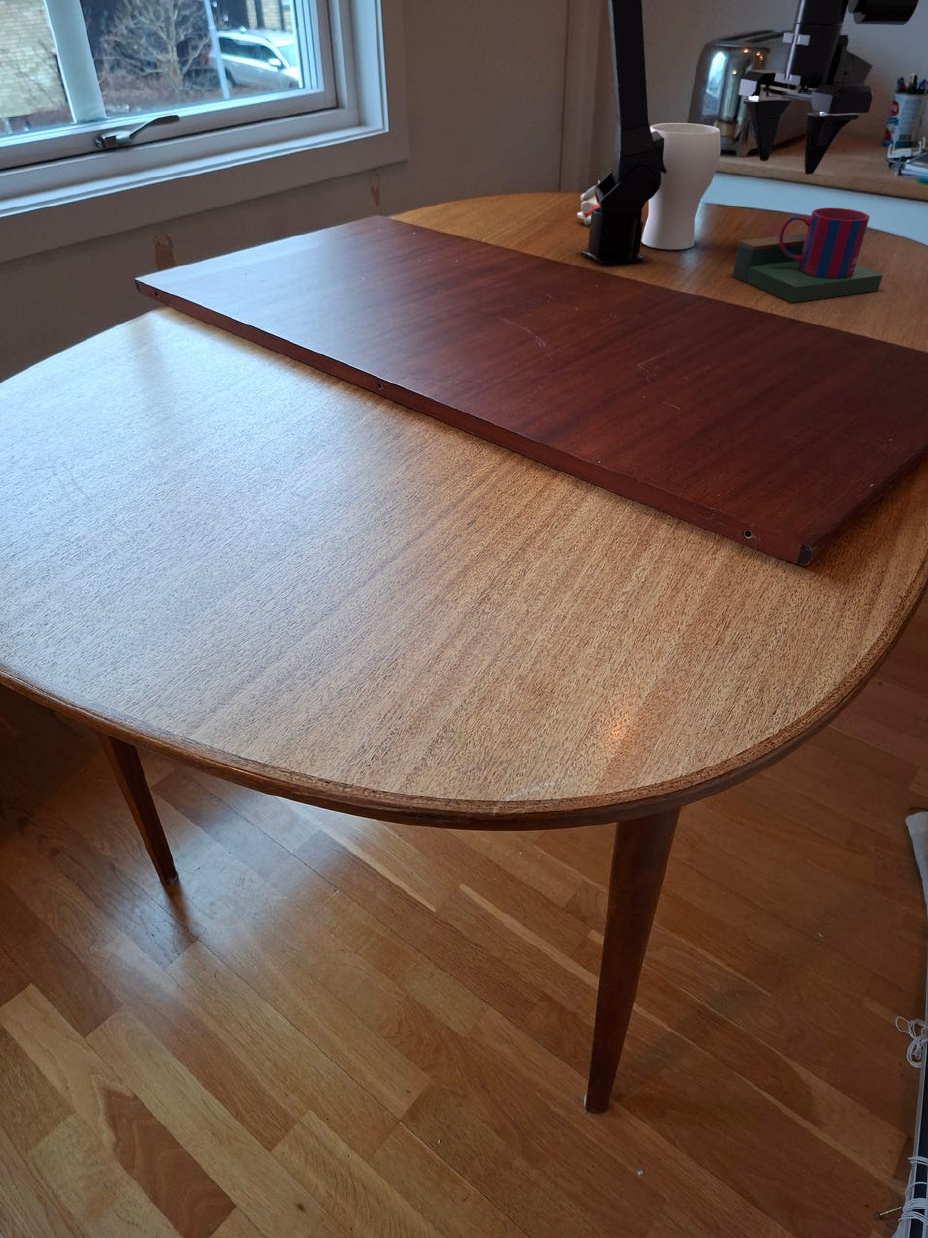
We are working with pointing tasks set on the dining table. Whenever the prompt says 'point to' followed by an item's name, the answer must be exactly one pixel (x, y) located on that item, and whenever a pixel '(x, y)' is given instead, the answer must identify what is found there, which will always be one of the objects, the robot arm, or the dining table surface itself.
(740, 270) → the green l-shaped stand
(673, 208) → the cup
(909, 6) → the robot arm
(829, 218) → the cup
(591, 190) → the toy airplane
